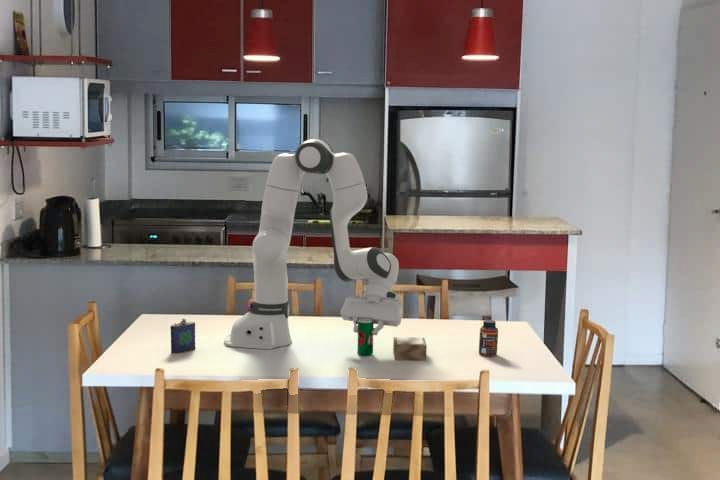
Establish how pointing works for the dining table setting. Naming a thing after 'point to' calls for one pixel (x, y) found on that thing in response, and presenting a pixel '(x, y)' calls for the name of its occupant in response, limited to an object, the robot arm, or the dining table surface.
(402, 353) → the base block
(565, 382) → the dining table surface
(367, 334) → the soda can
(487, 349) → the supplement bottle
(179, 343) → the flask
